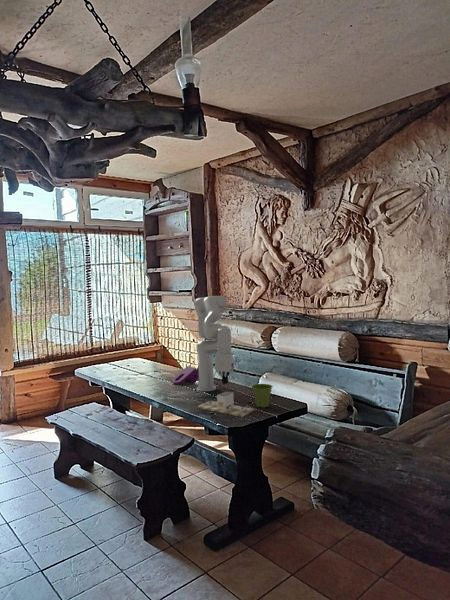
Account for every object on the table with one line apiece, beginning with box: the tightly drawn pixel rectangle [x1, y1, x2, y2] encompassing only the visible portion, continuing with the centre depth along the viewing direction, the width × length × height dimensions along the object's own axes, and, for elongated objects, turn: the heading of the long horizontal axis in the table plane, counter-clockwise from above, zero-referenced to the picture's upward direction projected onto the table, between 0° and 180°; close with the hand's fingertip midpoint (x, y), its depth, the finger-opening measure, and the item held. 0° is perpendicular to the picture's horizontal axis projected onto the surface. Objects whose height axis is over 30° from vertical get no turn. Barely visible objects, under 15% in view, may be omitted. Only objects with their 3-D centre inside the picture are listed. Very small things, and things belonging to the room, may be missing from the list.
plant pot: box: [251, 383, 273, 408], centre depth 257 cm, size 12×12×11 cm
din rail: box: [204, 400, 248, 412], centre depth 252 cm, size 26×4×2 cm, turn 55°
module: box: [216, 390, 235, 410], centre depth 252 cm, size 5×9×8 cm, turn 144°
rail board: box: [197, 400, 256, 418], centre depth 252 cm, size 30×12×1 cm, turn 55°
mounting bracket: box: [171, 365, 199, 386], centre depth 315 cm, size 9×8×18 cm
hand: (225, 383), depth 251 cm, fingers closed
